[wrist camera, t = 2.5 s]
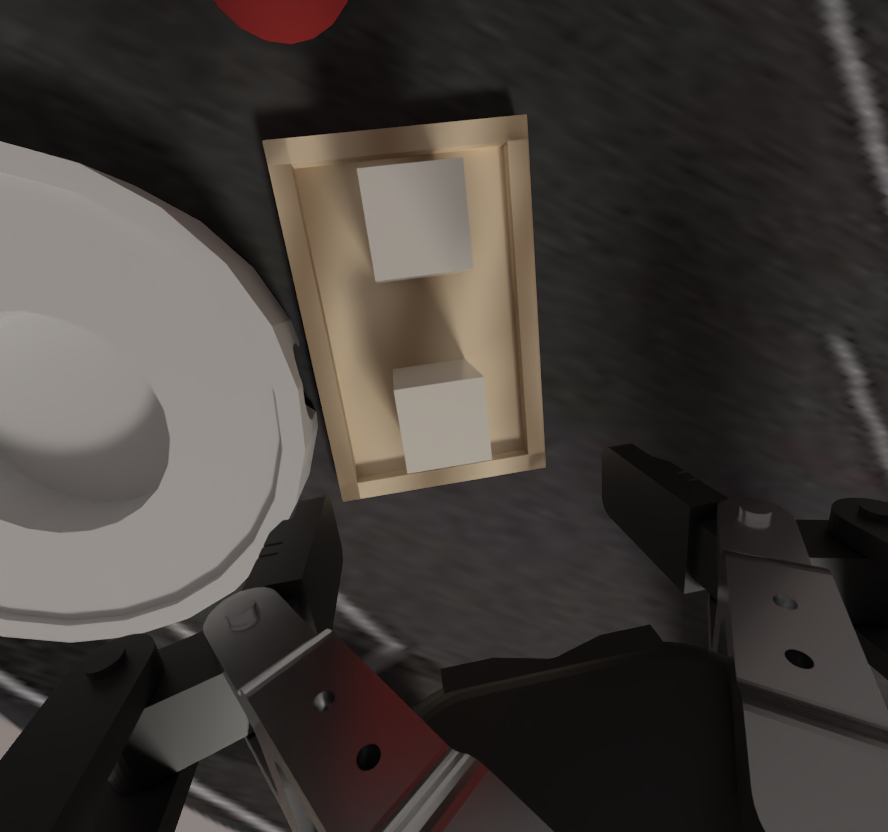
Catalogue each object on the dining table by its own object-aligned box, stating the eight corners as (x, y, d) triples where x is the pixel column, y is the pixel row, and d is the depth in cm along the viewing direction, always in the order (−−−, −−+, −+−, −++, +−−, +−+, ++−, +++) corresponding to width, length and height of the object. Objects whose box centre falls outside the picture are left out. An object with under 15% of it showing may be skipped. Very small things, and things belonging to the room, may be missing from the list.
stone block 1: (445, 187, 20) (462, 157, 16) (455, 273, 22) (473, 268, 17) (364, 196, 20) (356, 168, 15) (378, 283, 21) (375, 281, 17)
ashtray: (-61, 37, 17) (-188, -34, 13) (398, 359, 23) (399, 372, 20) (-240, 464, 21) (-379, 503, 17) (196, 644, 27) (164, 702, 23)
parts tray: (518, 125, 21) (526, 114, 19) (537, 458, 26) (545, 467, 25) (270, 150, 20) (262, 140, 18) (345, 490, 25) (342, 501, 24)
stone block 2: (464, 358, 23) (484, 376, 18) (471, 426, 24) (491, 459, 19) (392, 369, 23) (393, 390, 18) (404, 437, 24) (407, 473, 19)
